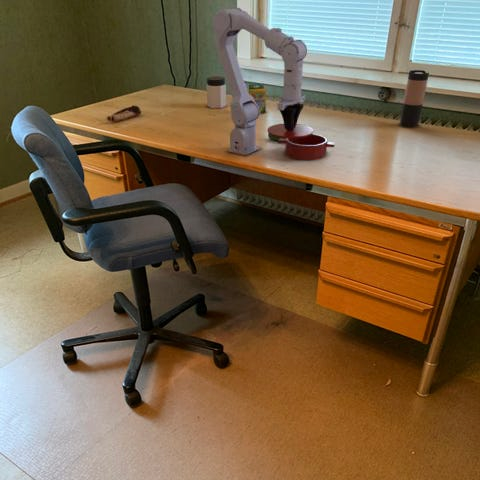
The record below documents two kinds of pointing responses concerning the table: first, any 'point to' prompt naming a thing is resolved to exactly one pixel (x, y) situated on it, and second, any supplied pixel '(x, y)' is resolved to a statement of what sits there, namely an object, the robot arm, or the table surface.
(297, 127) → the lid
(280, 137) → the cucumber
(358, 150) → the table surface
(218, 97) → the jar
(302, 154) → the pot
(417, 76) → the travel mug
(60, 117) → the table surface
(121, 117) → the lashed bone hook
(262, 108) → the crayon box
